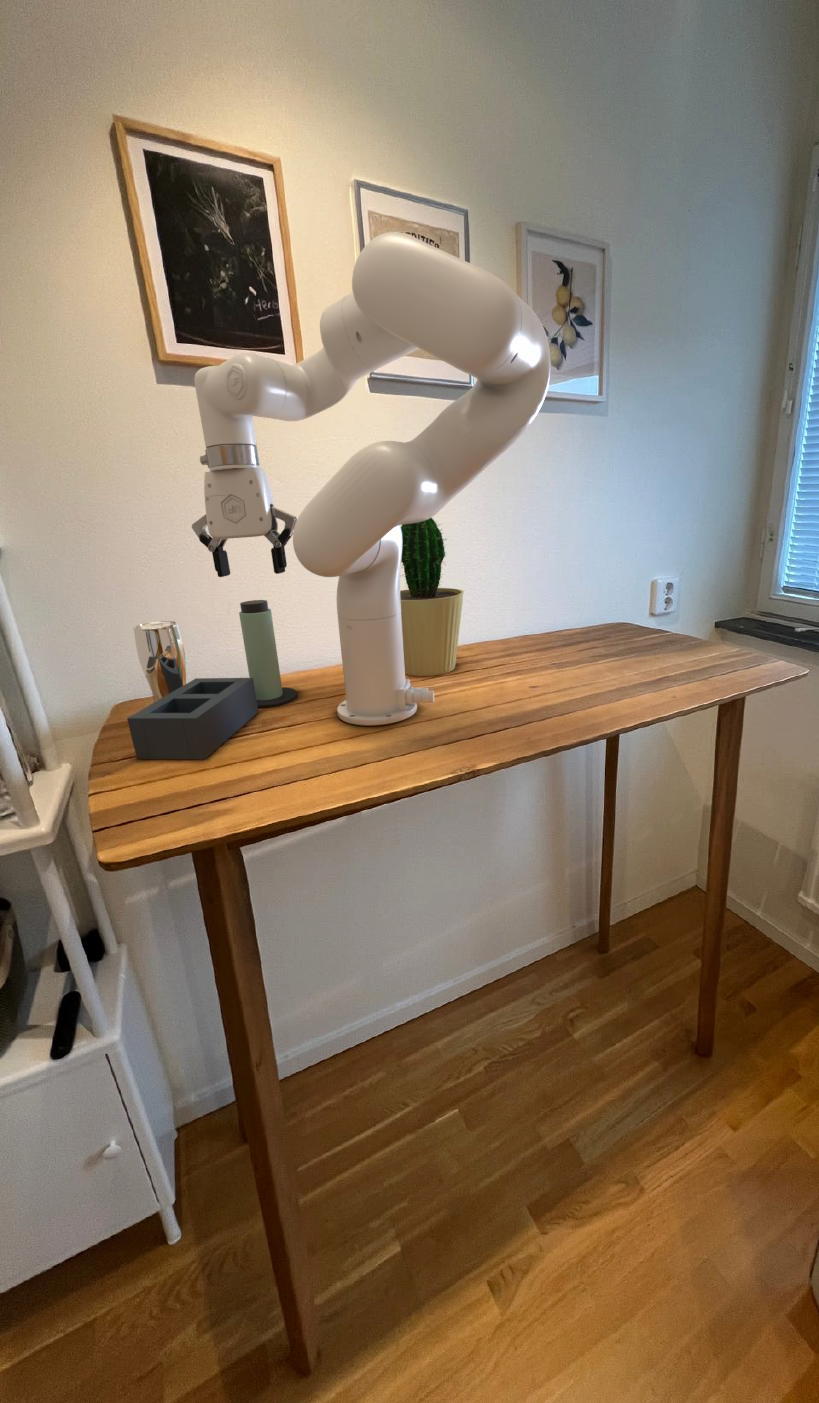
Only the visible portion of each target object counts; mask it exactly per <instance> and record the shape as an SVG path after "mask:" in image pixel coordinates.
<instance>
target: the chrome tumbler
mask: <svg viewBox="0 0 819 1403" xmlns="http://www.w3.org/2000/svg"><path fill="white" fill-rule="evenodd" d="M133 633H134V634H133V636H134V642H135V647H136V654H137V657H138V660H139V664H140V666H141V669H142V672H143V674H144V677H145V678H146V681H147V683H148V685H149V688H150V690H151V694H152V698H153V703H154V702H156V701H158V700H159V699H161V698H163V697H165V696H166V695H168V694H170V693H171V692H173V691H175V690H177V689H178V688H180V687H182V686H184V685H185V684H187V667H186V665H187V664H186V662H187V661H186V652H185V646H184V642H183V638H182V634H181V631H180V626H179V624H178V621H176V620H160V621H151V622H146V623H142V624H138V625H135V626H134V627H133Z"/></svg>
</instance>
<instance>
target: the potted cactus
mask: <svg viewBox="0 0 819 1403" xmlns="http://www.w3.org/2000/svg"><path fill="white" fill-rule="evenodd" d="M437 522H438V520H435V519H434V518H433V517H431V518H430V519H428V520H425V521H422V522H418V523H413V524H404V525H400V527H401V531H402V539H403V547H402V559H401V565H402V566H401V569H403V572H404V574H402V575H401V574H400V577H403V576H404V578H405V580H406V581H405V586H404V588H405V587H406V589H402V590H401V589H400V597H401V618H402V634H403V650H404V666H405V675H407V676H414V677H415V676H416V677H431V676H438V675H444V674H447V673H450V672H452V671H454V670H455V668H456V663H457V654H458V647H459V646H458V645H459V637H460V636H459V635H460V628H461V618H462V610H463V601H464V598H463V597H464V590H462V589H459V588H451V587H440V582H441V583H444V582H443V581H441V578H442V579H443V574H442V565H444V566H446V564H447V563H446V561H444V560H445V558H446V557H447V554H446V551H445V548H446V546H447V544H446V545H445V543H444V542H445V541H447V540H448V538H443V532H442V531H443V529H440V528H439V527H440V526H441V525H442V523H441V524H439V523H437Z"/></svg>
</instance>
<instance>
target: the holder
mask: <svg viewBox="0 0 819 1403" xmlns="http://www.w3.org/2000/svg"><path fill="white" fill-rule="evenodd" d="M258 713H259V708H258V707H257V701H256V694H255V688H254V682H253V678H249V677H206V678H205V677H203V678H202V677H201V678H199V677H198V678H197V677H196V678H194V679H192V680H190V681H189V682H186V684H185V685H184V686H182V687H180V688H178V689H177V690H175V691H173V692H171V693H170V694H168V695H166V696H165V697H163V698H161V699H159V700H158V701H156V702H154V701H153V702H152V703H151V704H148V705H147V706H146V707H143V708H142V709H141V710H139V711H137V712H136V713H134V714H132V715H130V716H129V717H127V718H126V719H127V724H128V728H129V733H130V736H131V740H132V746H133V748H134V753H135V757H136V760H196V761H197V760H198V761H199V760H201V761H202V760H206V759H207V758H208V757H209V756H210V755H212V754H213V753H214V752H215V751H216V750H218V748H220V747H221V746H222V745H224V743H226V741H228V740H229V739H230V738H231V737H232V736H233V735H234V734H236V733H237V732H238V731H239V730H240V729H242V727H243V726H245V725H246V724H247V723H248V722H249V721H250V720H251V719H253V717H255V716H256V715H257V714H258Z"/></svg>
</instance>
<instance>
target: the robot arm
mask: <svg viewBox="0 0 819 1403" xmlns="http://www.w3.org/2000/svg"><path fill="white" fill-rule="evenodd" d="M351 288H352V292H349V294H347V295H345V296H343V297H341V298H340V299H338V300H337V301H335V302H333V303H331V304H330V305H327V307H326V308H324V310H323V312H322V313H321V315H320V320H319V332H320V333H319V334H320V339H321V344H322V348H321V349H320V350H318V351H317V352H315V353H314V354H312V355H310V356H308V357H306V358H305V359H303V360H301V361H298V362H296V363H294V364H289V363H287V362H283V361H279V360H277V359H273V358H270V357H265V356H263V355H259V354H255V353H252V352H242V353H238V354H235V355H233V356H231V357H230V358H228V359H227V360H225V361H224V362H222V363H220V364H219V365H210V366H209V365H208V366H205V367H202V368H200V369H198V370H197V371H196V372H195V375H194V387H195V388H194V389H195V393H196V399H197V406H198V411H199V416H200V422H201V429H202V435H203V439H204V446H205V450H204V452H205V454H204V455H200V456H199V461H200V464H201V465H202V466H207V468H208V469H209V471H205V472H204V477H203V478H204V480H203V481H204V482H203V486H204V487H203V492H204V495H203V496H204V506H205V514H204V515H203V516H201V517H200V518H198V519H197V520H196V521H194V522H193V523H192V524H191V529H192V530H193V532H194V533H195V535H196V537H198V540H199V542H200V543H201V544H203V546H205V547H206V548H207V550H208V552H210V553H211V554H212V560H213V567H214V570H215V572H217V573H216V574H217V577H218V578H223V577H228V576H230V575H231V568H230V564H229V562H230V561H229V557H228V556H229V555H228V552H227V550H226V549H224V547H225V545H226V544H227V541H229V540H230V539H244V538H255V537H262V536H263V537H265V538H266V539H267V540H268V541H269V542H270V544H271V545H272V546H273V547H271V549H270V552H271V560H272V567H273V568H272V569H273V572H274V574H275V575H279V574H284V573H285V572H286V568H287V566H288V565H287V556H286V549H285V548H286V546H287V545H288V542H289V541H290V539H291V538H292V546H293V551H294V554H295V556H296V558H297V560H298V562H299V563H300V564H301V565H302V567H303V568H304V569H306V570H307V571H309V572H310V573H311V574H314V575H316V576H318V577H323V578H337V577H338V581H337V587H336V614H337V625H338V634H339V635H338V636H339V645H340V653H341V654H340V655H341V663H342V664H341V665H342V673H343V675H342V676H343V684H344V693H345V700H344V701H342V702H341V703H340V704H339V705H338V706H337V708H336V713H337V717H338V718H339V719H340V720H341V721H343V722H344V723H347V724H351V725H357V726H368V727H369V726H382V725H390V724H394V723H398V722H401V721H405V720H406V719H408V718H410V717H412V716H414V714H415V713H416V712H417V710H418V703H419V704H420V703H421V704H434V703H435V691H434V690H429V687H414V686H413V685H411V680H410V678H406V674H405V666H404V650H403V634H402V618H401V597H400V591H401V569H402V568H401V567H402V564H401V563H402V562H401V559H402V547H403V539H402V531H401V526H402V525H404V524H413V523H418V522H422V521H425V520H428V519H430V518H434V517H435V515H437V514H439V512H440V511H441V510H442V509H443V508H444V507H445V506H446V505H447V504H449V502H451V500H453V499H454V498H455V497H456V496H457V495H458V494H460V493H461V492H462V491H463V490H464V489H465V488H466V487H467V486H468V485H470V484H471V483H472V482H473V481H474V480H476V478H478V476H479V475H481V473H483V471H485V470H486V469H487V468H488V467H489V466H490V465H491V464H492V463H493V462H494V461H495V460H497V459H498V458H499V457H500V456H501V455H503V454H504V453H505V452H506V451H507V450H508V449H509V448H510V447H511V446H512V445H513V444H514V443H516V441H518V439H520V437H521V436H522V435H523V434H524V433H525V432H526V431H527V430H528V429H529V427H530V426H531V425H532V423H533V421H534V420H535V419H536V417H537V415H538V414H539V413H540V410H541V408H542V406H543V404H544V401H545V398H546V396H547V392H548V390H549V386H550V381H551V380H550V379H551V368H552V367H551V364H552V363H551V362H552V359H551V350H550V343H549V338H548V335H547V332H546V330H545V327H544V325H543V323H542V322H541V320H540V318H539V317H538V315H537V314H536V312H535V311H534V310H533V308H532V307H530V306H529V304H528V303H527V302H525V301H524V300H523V299H522V298H521V297H520V296H519V295H518V294H517V293H516V292H515V291H514V290H513V289H512V288H511V286H509V285H508V284H507V283H506V282H505V281H503V280H502V279H501V278H499V277H498V276H497V275H495V274H494V273H492V272H490V271H488V270H486V269H484V268H482V267H480V266H478V265H475V264H473V263H471V262H468V261H466V260H464V259H461V258H460V257H458V256H455V255H453V254H451V253H448V252H446V251H445V250H442V249H440V248H438V247H435V246H433V245H432V244H430V243H427V242H425V241H424V240H421V239H419V238H417V237H415V236H413V235H411V234H409V233H406V232H403V231H387V232H384V233H381V234H378V235H377V236H375V237H373V238H372V239H371V240H370V241H369V242H368V243H366V245H365V246H364V247H363V248H362V250H361V251H360V252H359V254H358V256H357V258H356V260H355V264H354V266H353V270H352V278H351ZM417 350H421V351H424V352H425V353H428V354H429V355H431V356H433V357H435V358H437V359H438V360H440V361H443V362H444V363H446V364H447V365H450V366H452V367H453V368H455V369H457V370H459V371H461V372H463V373H465V374H467V375H469V376H472V377H474V378H475V379H476V382H475V383H474V385H473V386H472V388H470V389H469V390H468V391H467V392H466V393H464V394H463V395H462V396H459V397H458V398H457V399H456V400H455V401H453V402H452V403H450V404H449V405H447V407H445V408H444V409H443V410H442V411H441V412H440V413H439V414H438V416H437V417H436V418H435V419H434V420H433V421H432V422H431V423H430V424H428V426H427V427H425V428H424V429H423V430H422V431H421V432H420V433H419V434H418V435H416V436H415V437H414V438H413V439H412V440H409V441H405V442H403V441H397V440H396V441H395V440H381V441H376V442H373V443H371V444H370V443H369V444H368V445H366V446H365V447H363V448H361V449H360V450H358V451H357V452H355V454H353V455H352V456H351V457H350V458H349V459H348V460H347V461H346V462H345V463H344V464H343V465H342V466H341V467H340V468H339V469H338V470H337V472H336V473H335V474H334V475H333V476H332V477H331V478H330V479H329V480H328V482H326V484H325V485H323V486H322V488H321V489H320V490H319V491H318V492H317V493H316V494H315V495H314V496H313V497H312V499H310V500H309V502H308V503H307V504H306V505H305V507H303V509H302V511H301V512H300V513H299V515H298V517H297V516H296V515H293V514H291V513H289V512H286V511H284V510H282V509H280V508H278V507H276V506H275V501H274V497H273V493H272V488H271V486H270V482H269V479H268V476H267V473H266V470H265V468H263V467H261V464H260V458H259V450H258V444H257V439H256V438H257V437H256V431H255V430H256V429H255V423H254V417H258V418H264V419H273V420H279V421H283V422H299V421H303V420H306V419H309V418H311V417H313V416H315V415H317V414H320V413H322V412H324V411H326V410H328V409H330V408H332V407H334V406H335V405H337V404H339V403H340V402H341V401H343V399H345V397H346V396H347V395H348V394H349V393H350V392H351V390H352V389H353V388H354V387H355V385H356V383H357V381H358V380H360V379H361V378H363V377H365V376H367V375H369V374H371V373H373V372H375V371H377V370H378V369H380V368H382V367H384V366H386V365H388V364H390V363H392V362H394V361H396V360H399V359H400V358H404V357H406V356H407V355H409V354H411V353H413V352H415V351H417ZM278 520H280V521H282V522H284V527H283V530H282V531H281V532H280V533H279V531H278V529H279V524H278ZM206 528H207V529H208V532H207V529H206ZM208 533H209V534H208Z"/></svg>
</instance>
